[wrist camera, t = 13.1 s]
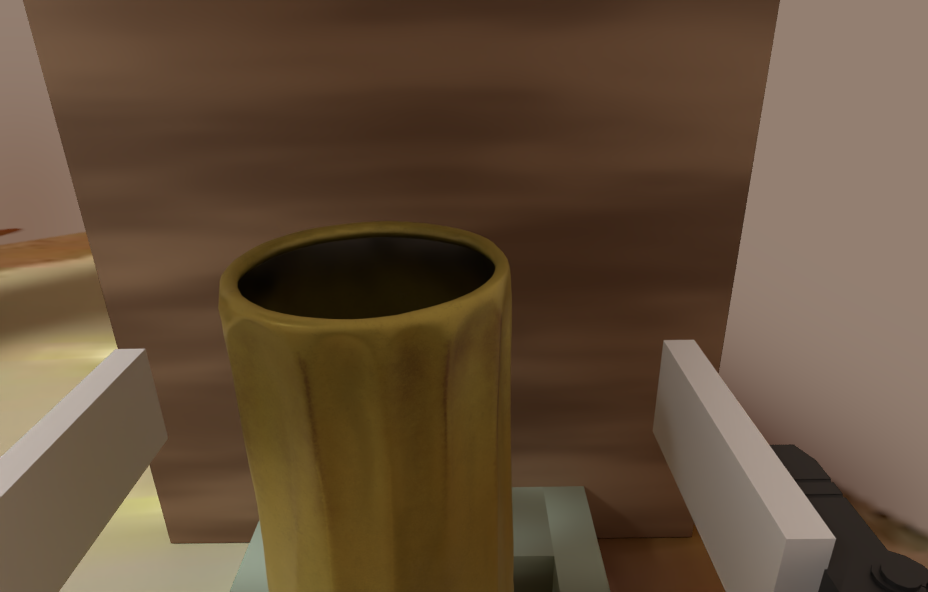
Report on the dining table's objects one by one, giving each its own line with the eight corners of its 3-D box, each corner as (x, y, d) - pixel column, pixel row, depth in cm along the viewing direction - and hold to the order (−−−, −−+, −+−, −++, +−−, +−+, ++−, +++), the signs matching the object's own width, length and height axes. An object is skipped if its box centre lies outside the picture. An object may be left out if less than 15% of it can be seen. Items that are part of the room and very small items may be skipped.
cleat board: (921, 1063, 12) (2719, -1764, 2) (-125, 1065, 12) (-2512, -1497, 2) (675, 500, 26) (782, -231, 16) (191, 506, 26) (14, -210, 16)
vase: (349, 632, 21) (292, 208, 15) (536, 670, 19) (553, 220, 14) (250, 852, 15) (100, 320, 9) (500, 927, 14) (504, 359, 8)
